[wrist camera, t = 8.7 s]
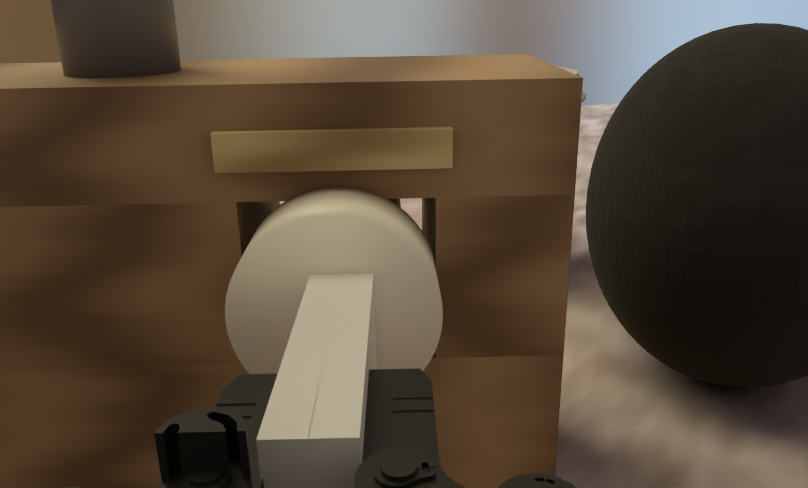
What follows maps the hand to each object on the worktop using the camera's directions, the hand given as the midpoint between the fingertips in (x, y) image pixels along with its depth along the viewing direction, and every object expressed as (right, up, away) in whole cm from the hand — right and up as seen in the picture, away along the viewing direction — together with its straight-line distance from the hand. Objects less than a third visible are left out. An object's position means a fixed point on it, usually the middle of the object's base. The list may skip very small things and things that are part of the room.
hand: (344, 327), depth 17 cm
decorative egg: (+16, -4, +15) cm, 22 cm away
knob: (0, 0, +8) cm, 8 cm away
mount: (-7, -6, +9) cm, 13 cm away
